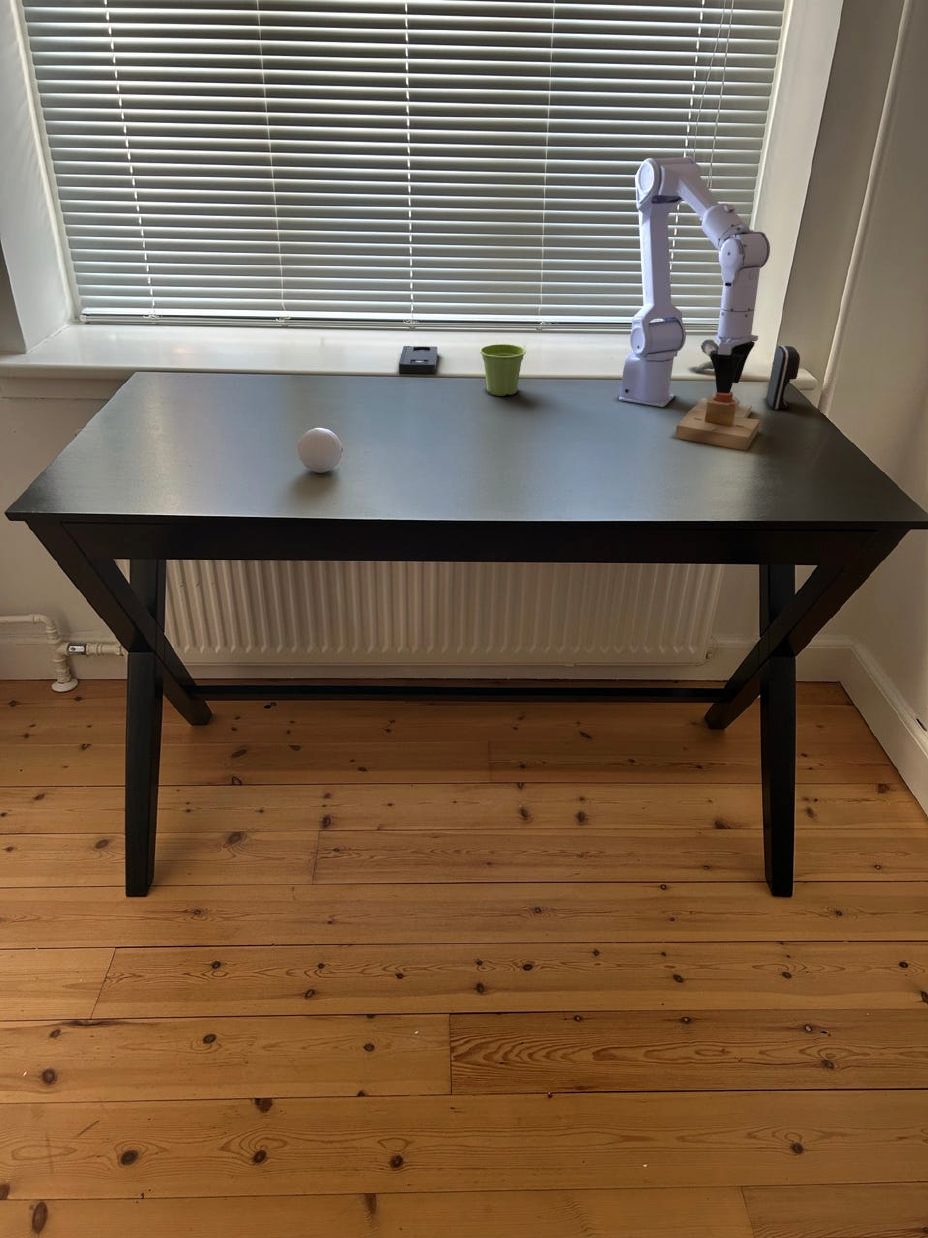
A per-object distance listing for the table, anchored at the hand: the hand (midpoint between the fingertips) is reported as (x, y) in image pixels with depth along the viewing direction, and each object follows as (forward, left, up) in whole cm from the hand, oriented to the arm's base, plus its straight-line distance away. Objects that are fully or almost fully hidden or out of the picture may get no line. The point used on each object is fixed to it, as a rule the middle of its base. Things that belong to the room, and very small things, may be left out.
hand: (727, 387), depth 159 cm
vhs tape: (-71, +12, -9) cm, 73 cm away
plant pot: (-46, +3, -9) cm, 48 cm away
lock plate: (0, -1, -9) cm, 9 cm away
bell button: (-2, +11, -6) cm, 13 cm away
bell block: (-2, +11, -9) cm, 15 cm away
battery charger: (+7, +22, -9) cm, 25 cm away
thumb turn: (0, -1, -6) cm, 7 cm away
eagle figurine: (-10, +38, -9) cm, 41 cm away
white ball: (-56, -47, -9) cm, 74 cm away
